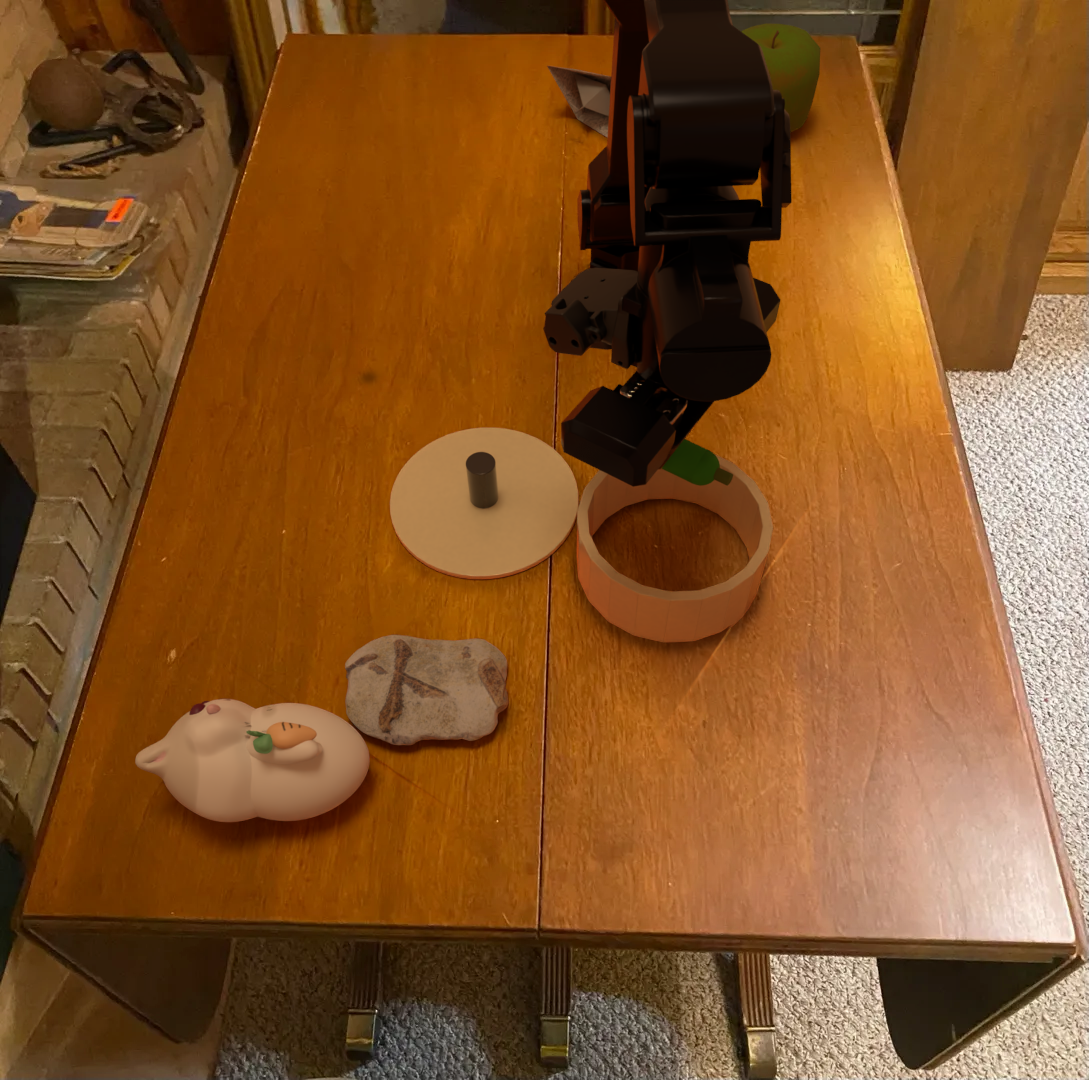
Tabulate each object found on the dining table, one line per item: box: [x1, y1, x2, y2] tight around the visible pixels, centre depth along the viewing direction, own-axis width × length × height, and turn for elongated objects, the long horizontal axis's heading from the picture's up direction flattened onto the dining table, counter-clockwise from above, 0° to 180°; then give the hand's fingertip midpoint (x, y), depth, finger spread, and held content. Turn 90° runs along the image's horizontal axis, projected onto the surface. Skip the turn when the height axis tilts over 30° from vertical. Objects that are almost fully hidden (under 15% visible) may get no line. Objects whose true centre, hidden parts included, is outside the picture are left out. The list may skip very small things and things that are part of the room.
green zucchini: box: [661, 438, 733, 486], centre depth 73 cm, size 10×3×3 cm, turn 56°
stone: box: [344, 634, 510, 746], centre depth 74 cm, size 12×9×3 cm
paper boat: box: [546, 65, 611, 138], centre depth 116 cm, size 12×6×9 cm
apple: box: [740, 22, 821, 133], centre depth 114 cm, size 11×11×11 cm
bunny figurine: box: [134, 698, 371, 823], centre depth 69 cm, size 10×8×15 cm
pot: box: [576, 453, 774, 643], centre depth 80 cm, size 15×15×6 cm
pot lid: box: [389, 426, 580, 580], centre depth 84 cm, size 16×16×6 cm
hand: (665, 452), depth 73 cm, fingers closed on green zucchini, 2 cm apart
